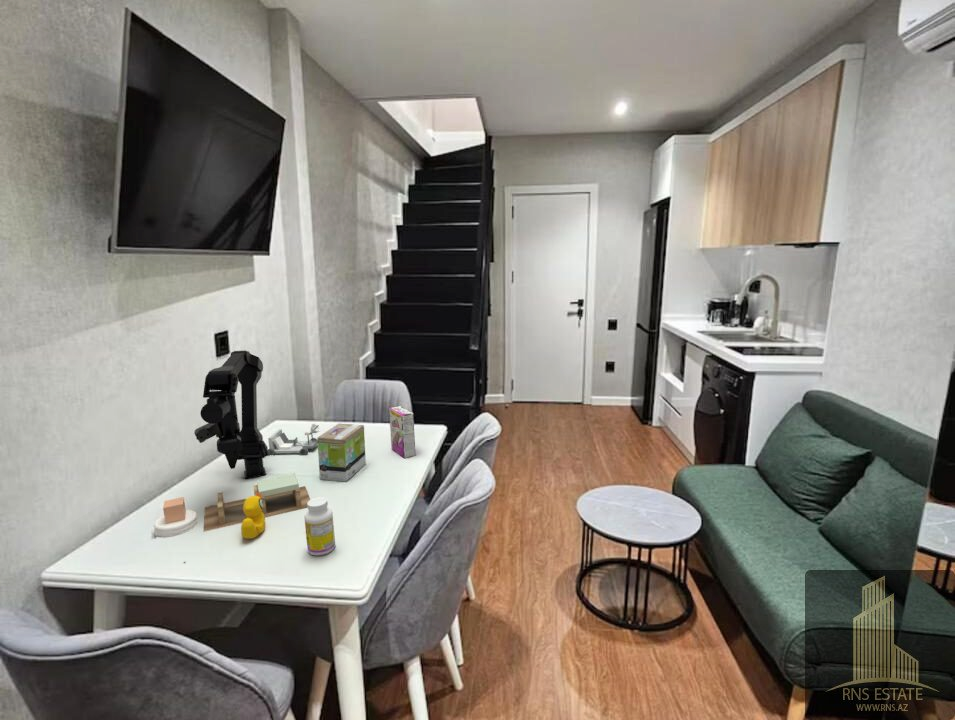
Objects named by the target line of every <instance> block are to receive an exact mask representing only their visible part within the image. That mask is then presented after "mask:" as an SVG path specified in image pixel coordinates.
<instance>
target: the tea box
mask: <svg viewBox="0 0 955 720" xmlns="http://www.w3.org/2000/svg"><path fill="white" fill-rule="evenodd" d="M316 439H317V440H318V444H317V452H318V468H319V471H318V472H319V479H320V480H323V481H332V482H333V481H335V482H347V481H348V480H349V479H351V478H352V477H353V476H354V475H356V473H357V472H358V471H359V470H360V469H361V468H362V467H364V466H365V465H366V463H367V462H366V459H367V458H366V444H365V443H366V441H365V439H366V438H365V426H364V424H355V423H354V424H352V423H351V424H350V423H337V424H336V425H334V426H333V427H331V428H329V429H328V430H327V431H325V432H323V433H322V434H321V435H319V436H318V437H317V438H316Z"/></svg>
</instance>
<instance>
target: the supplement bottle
mask: <svg viewBox="0 0 955 720" xmlns="http://www.w3.org/2000/svg"><path fill="white" fill-rule="evenodd" d="M328 505H329V504H328V499H327V498H326V497H323V496H321V497H314V498H312V499H311V498H310V500H309V501H308V503H307V508H306V509H308V510H307V511H306V512H305V514H304V525H305V526H304V527H305V536H306V537H305V538H306V546H307V551H308V553H309V554H310V555H313V556H323V555H327V554H329V553H331V552H332V551H333V550H334V549H335V547H336V538H335V537H336V536H335V525H334V515H333V513H334V512H333V510H332V509H331V507H328Z"/></svg>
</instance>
